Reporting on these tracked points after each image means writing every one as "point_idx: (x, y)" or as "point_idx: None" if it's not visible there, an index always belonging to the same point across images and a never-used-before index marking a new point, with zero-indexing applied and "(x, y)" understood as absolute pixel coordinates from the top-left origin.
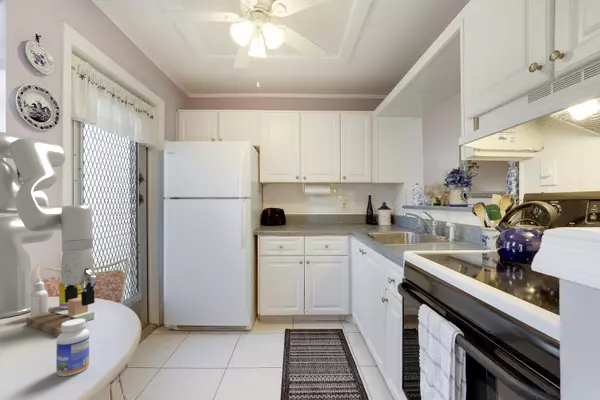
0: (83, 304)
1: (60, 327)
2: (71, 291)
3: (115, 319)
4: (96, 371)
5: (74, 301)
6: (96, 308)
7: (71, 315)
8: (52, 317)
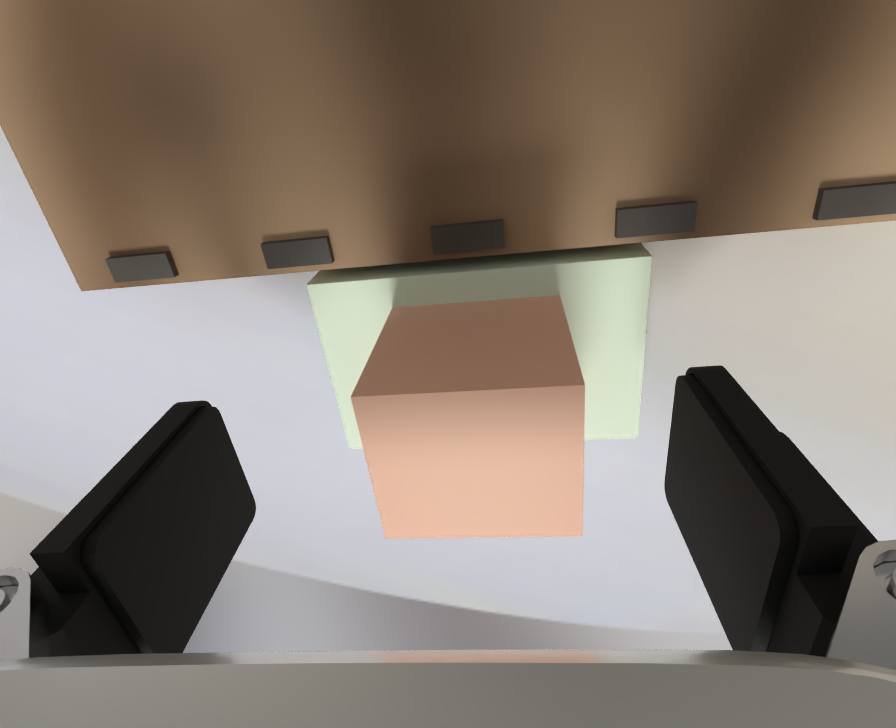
0: (175, 416)
1: (23, 45)
2: (733, 551)
3: None
4: None
5: (373, 402)
6: (676, 527)
7: (429, 288)
8: (590, 121)
